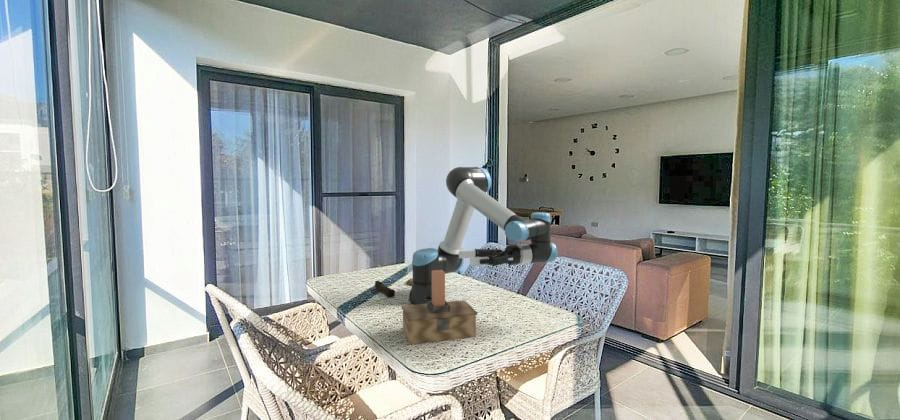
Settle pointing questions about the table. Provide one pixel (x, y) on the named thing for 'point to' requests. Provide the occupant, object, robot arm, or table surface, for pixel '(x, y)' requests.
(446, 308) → the wooden socket base
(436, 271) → the wooden peg
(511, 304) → the table surface
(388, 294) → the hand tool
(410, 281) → the cookie
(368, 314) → the table surface
